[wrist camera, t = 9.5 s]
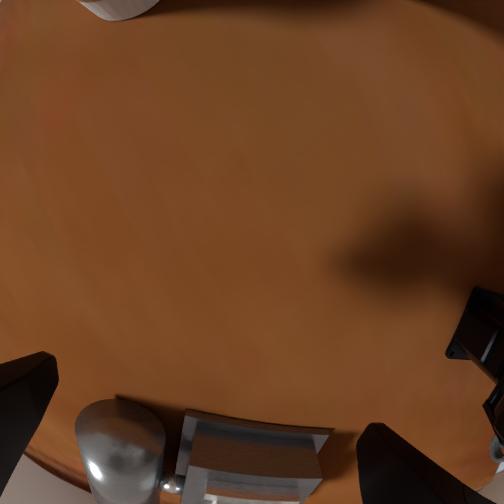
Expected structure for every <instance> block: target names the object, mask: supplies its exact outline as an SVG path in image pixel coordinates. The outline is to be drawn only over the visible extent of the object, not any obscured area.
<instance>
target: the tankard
mask: <svg viewBox="0 0 504 504" xmlns="http://www.w3.org/2000/svg"><path fill="white" fill-rule="evenodd" d="M503 448H504V446H502V445H501V444H500V443H499V440H498V438H497V436H496V434H495V435H494V437H493V439H492V441H491V445H490V455H491V458H492V460H493V461H494V462H495V463H501V462H504V454H502V451H501V449H503Z"/></svg>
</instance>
